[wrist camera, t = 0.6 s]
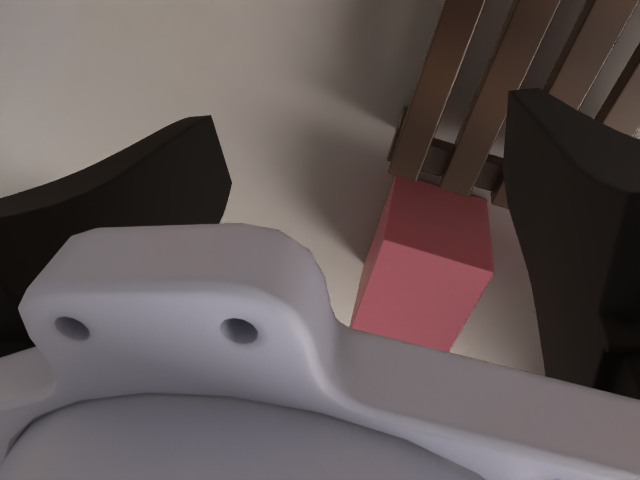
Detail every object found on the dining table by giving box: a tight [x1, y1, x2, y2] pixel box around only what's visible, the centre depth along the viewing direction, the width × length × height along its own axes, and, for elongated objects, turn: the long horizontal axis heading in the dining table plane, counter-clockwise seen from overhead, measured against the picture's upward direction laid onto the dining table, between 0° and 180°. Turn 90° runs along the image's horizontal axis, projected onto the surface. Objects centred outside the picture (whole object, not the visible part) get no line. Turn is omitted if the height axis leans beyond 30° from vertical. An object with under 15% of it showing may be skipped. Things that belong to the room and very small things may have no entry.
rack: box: [387, 0, 640, 209], centre depth 18 cm, size 12×12×4 cm
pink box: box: [350, 175, 494, 352], centre depth 24 cm, size 6×4×6 cm
